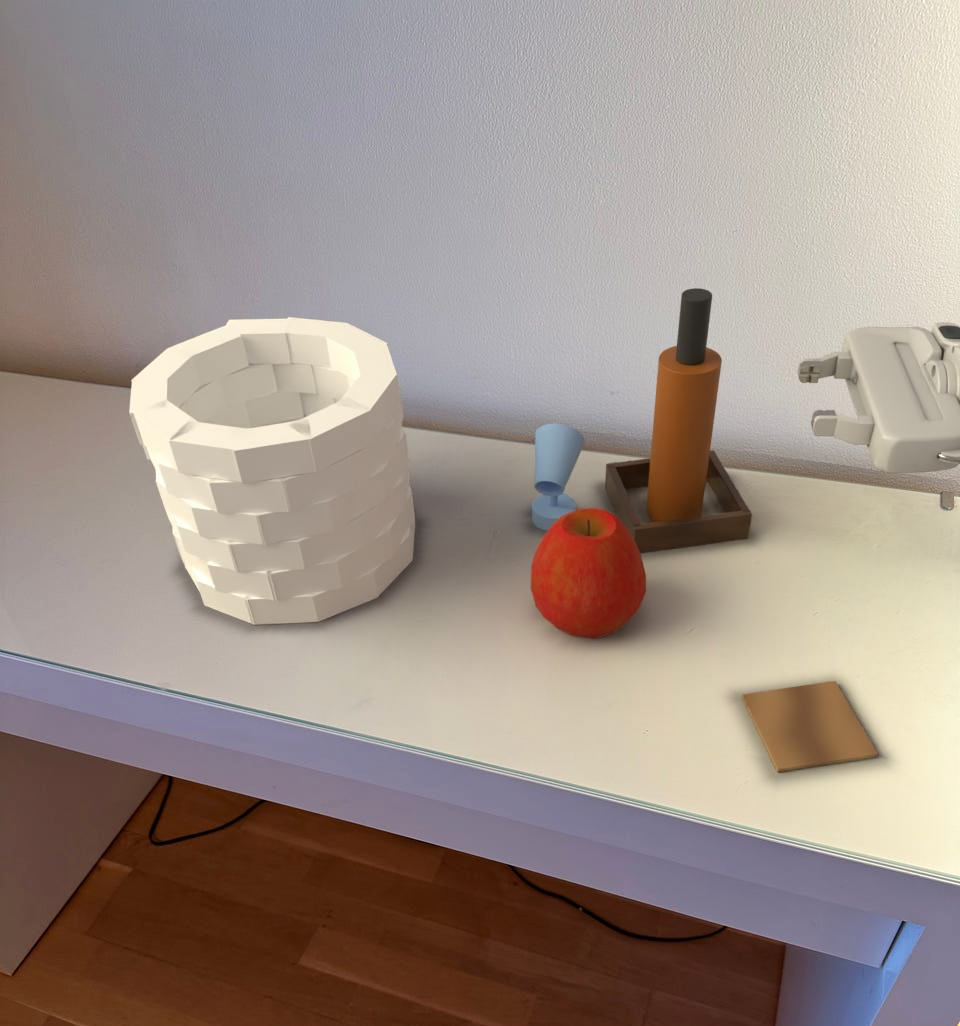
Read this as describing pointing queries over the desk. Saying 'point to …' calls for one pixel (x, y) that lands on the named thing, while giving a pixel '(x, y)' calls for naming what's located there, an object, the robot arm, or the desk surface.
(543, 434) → the spotlight
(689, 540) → the square frame
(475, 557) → the desk surface
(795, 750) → the coaster
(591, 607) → the apple
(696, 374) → the bottle
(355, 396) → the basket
